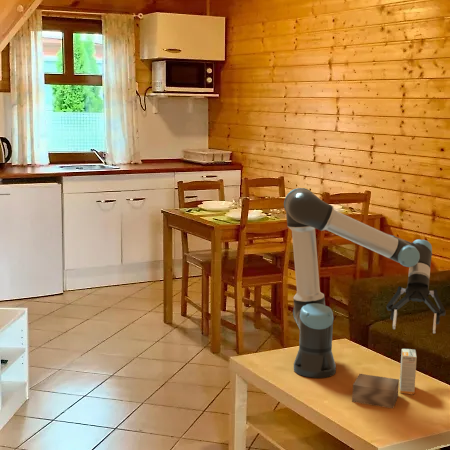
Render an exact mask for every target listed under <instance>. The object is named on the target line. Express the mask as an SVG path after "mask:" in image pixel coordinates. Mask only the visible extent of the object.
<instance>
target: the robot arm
mask: <svg viewBox="0 0 450 450" xmlns="http://www.w3.org/2000/svg"><path fill="white" fill-rule="evenodd" d="M283 207H284V210H285V214H286V224H287V228H288V229H289V230H290V231H291V237H292V248H293V249H292V250H293V251H292V252H293V260H294V272H295V284H296V285H295V286H296V293H295V295H294V296H293V310H292V315H293V318H294V319H293V320H294V321H295V323H296V324H297V327H298V329H299V340H298V343H299V345H298V351H297V353H296V356H295V359H294V362H293V372H295V373H296V374H297V375H300V376H302V377H307V378H312V379H313V378H314V379H315V378H316V379H318V378H319V379H322V378H329V377H332V376H334V375H335V374H336V369H337V366H336V361H335V359H334V354H333V350H332V348H333V328H334V327H333V325H334V319H335V318H334V312H333V309H332V308H331V307H330V306H328V305H326V301H325V300H326V298H325V293H323V292H321V289H320V275H319V273H320V272H319V263H318V249H317V238H316V237H317V236H316V230H318V231H320V232H322V231H328V232H331V234H332V233H333V235H334V234H335V235H336V236H339V237H341V238H343V239H346V240H348V241H351V242H352V243H354V244H357V245H359V246H361V247H363V248H366V249H368V250H370V251H372V252H375V253H377V254H378V255H381V256H383V257H385V258H387V259H390V260H392V261H394V262H396V263H399V264H400V265H401V266H403V267H406V268H409V269H408V278H407V286H406V288H403V287H401V286H398V287H397V291H396V292H395V294H394V295H393V296H392V297H391V299H390V301H388V303H387V304H386V310H387V311H388V312H390V320H391V321H392V330H396V326H397V325H396V324H397V317H398V310H400V309H401V308H402V307H403V306H404V305H406V304H407V303H409V302H410V301H412V302H419V303H421V302H424V304H426V305H427V307H428V308H429V309H430V310H431V312H433V315H434V316H433V325H432V334H436V328H437V325H440V322H441V317H442V316H443V317H445V316H446V308H445V306H444V305H443V302H442V301H441V299H440V297H439V295H438V289H436V288H434V289H433V290H430V289H429V288H430V279H431V278H430V277H431V263H432V256H433V246H432V244H431V243H430V241H428V240H425V239H420V238H419V239H415V240H414V241H408V240H406V239H404V238H401V237H397V236H396V235H392V234H389V233H386V232H384V231H381V230H379V229H377V228H375V227H372V226H370V225H368V224H366V223H364V222H362V221H359V220H358V219H355V218H352V217H351V216H348V215H347V214H344V213H342V212H340V211H337V210H336V209H335V208H334V206H333V205H331V204H329V203H327V202H325V201H323V200H322V199H321V198H320V197H318V196H317V195H316V194H315V193H314V192H312V191H311V190H310V189H308V188H304V187H297V188H294V189H291V191H289V192H288V193H287V194H286V196H285V198H284V201H283ZM404 293H405V295H404V296H403V297H402V298H401V299H400V297H401V295H403V294H404ZM429 296H431V297H432V298H433V300H434V301H435V303H436V305H435V304H434V302H433V301H431V299H430V297H429ZM399 299H400V300H399Z"/></svg>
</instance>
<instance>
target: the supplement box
mask: <svg viewBox="0 0 450 450" xmlns="http://www.w3.org/2000/svg"><path fill="white" fill-rule="evenodd" d="M400 352H401V353H400V355H401V356H400V370H399V371H400V373H399V393H400V394H406V395H415V387H416V375H417V374H416V372H417V371H416V370H417V358H418V357H417V351H416V349H413V348H412V349H411V348H401V351H400Z"/></svg>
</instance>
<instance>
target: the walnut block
mask: <svg viewBox="0 0 450 450" xmlns="http://www.w3.org/2000/svg"><path fill="white" fill-rule="evenodd" d="M399 383H400V378H391V377H385V376H378V375H372V374H363V373H359V374H358V375H357V377H356V379H355V381H354V382H353V384H352V396H351V397H352V399H351V400H352V401H351V402H352V403H358V404H363V405H370V406H377V407H383V408H389V409H394V408H395V404H396V402H397V399H398V397H399V389H400V386H399Z"/></svg>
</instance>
